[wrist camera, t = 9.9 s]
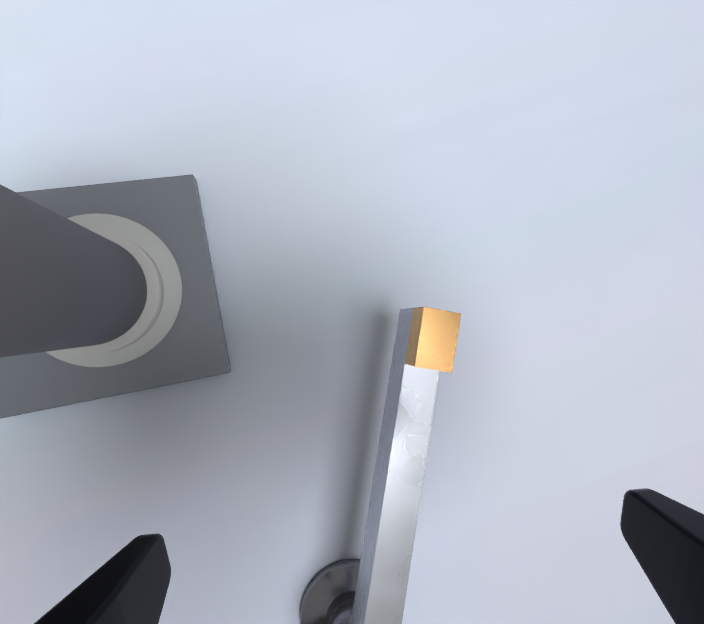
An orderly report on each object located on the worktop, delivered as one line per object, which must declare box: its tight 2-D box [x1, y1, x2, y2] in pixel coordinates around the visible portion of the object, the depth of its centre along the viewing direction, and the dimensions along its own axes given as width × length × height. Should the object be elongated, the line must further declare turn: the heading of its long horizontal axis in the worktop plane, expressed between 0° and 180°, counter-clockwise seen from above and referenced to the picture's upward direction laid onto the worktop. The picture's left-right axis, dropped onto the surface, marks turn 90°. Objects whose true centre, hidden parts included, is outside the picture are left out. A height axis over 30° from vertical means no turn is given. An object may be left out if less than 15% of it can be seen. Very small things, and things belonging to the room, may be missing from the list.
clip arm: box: [351, 307, 461, 624], centre depth 17 cm, size 18×3×3 cm, turn 171°
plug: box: [0, 185, 164, 358], centre depth 12 cm, size 6×6×13 cm
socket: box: [0, 175, 231, 418], centre depth 19 cm, size 10×10×1 cm
